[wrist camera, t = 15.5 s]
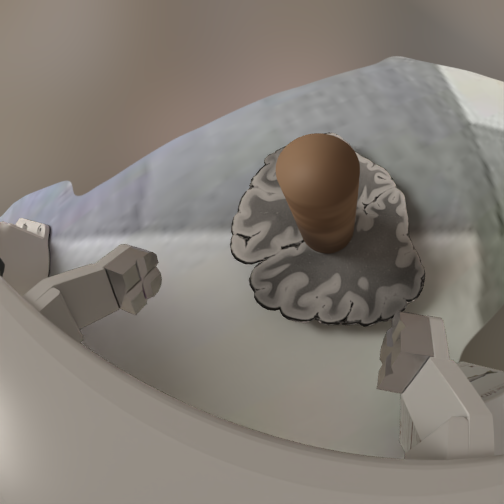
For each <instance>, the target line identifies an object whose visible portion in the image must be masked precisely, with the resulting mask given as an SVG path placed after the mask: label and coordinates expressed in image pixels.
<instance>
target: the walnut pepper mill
mask: <svg viewBox="0 0 504 504" xmlns="http://www.w3.org/2000/svg"><path fill="white" fill-rule="evenodd" d="M276 177H277V181H278V183H279V185H280V187H281V190H282V192H283V194H284V196H285V199H286V201H287V203H288V205H289V208H290V210H291V212H292V214H293V217H294V219H295V221H296V224H297V226H298V228H299V231H300V233H301V235H302V238H303V240H304V242H305V243H306V244H307V245H308V246H309V247H310V248H311V249H313V250H314V251H317V252H320V253H325V254H329V253H335V252H337V251H340V250H341V249H343V248H344V247H346V246H347V245H348V243H349V242H350V240H351V239H352V236H353V232H354V225H355V217H356V208H357V199H358V188H359V177H360V163H359V159H358V157H357V155H356V153H355V151H354V150H353V149H352V147H351V146H350V145H349V144H348V143H346V142H345V141H343V140H342V139H340V138H338V137H335V136H332V135H329V134H319V133H318V134H309V135H305V136H302V137H299V138H297V139H295V140H293V141H292V142H290V143H289V144H288V145H287V146H286V147H285V148H284V149H283V150H282V152H281V153H280V155H279V157H278V160H277V163H276Z"/></svg>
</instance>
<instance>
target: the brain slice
mask: <svg viewBox="0 0 504 504" xmlns="http://www.w3.org/2000/svg"><path fill="white" fill-rule="evenodd" d="M325 134H329V135H332V136H335V137H338V138H340V139H342V138H341V136H339V135H337V134H335V133H325ZM342 140H343V139H342ZM343 141H345V140H343ZM345 142H346V141H345ZM346 143H348V142H346ZM348 144H349V143H348ZM349 145H350V144H349ZM285 147H286V146H285ZM285 147H283V148H281V149H279V150H277V151H276V152H275V153H272V154H270V155H268V156H267V157H266V158H265V160H264V163H265V165H264V166H263V167H262V168H261V169H260V170H259V171H258V172H257V174H256V175H255V176H254V177H253V178H252V179H251V183H250V185H249V186H250V188H249V189H248V190H247V191H246V192H245V193H244V195H243V196H242V198H241V201H240V203H239V207H238V213H237V214H236V215H235V216H234V218H233V221H232V227H231V232H232V238H231V243H230V247H231V253H232V255H233V256H234V258H235V259H236V260H238V261H239V262H242V263H244V264H254V263H257V262H260V261H263V262H261V263H259V264H258V265H257V266H255V267H254V269H253V271H252V273H251V275H250V278H249V282H250V286H251V288H252V290H253V291H254V298H255V300H256V302H257V303H258V304H259V305H261V306H262V307H263V308H265V309H267V310H274V311H275V310H280V312H281V314H282V316H283V317H285V318H286V319H288V320H292V321H295V322H301V323H306V322H310V321H313V320H317V321H319V322H320V323H322V324H326V325H339V324H342V325H354V324H360V325H362V326H364V327H366V326H372V325H374V324H376V323H378V322H380V321H388V320H391V319H393V317H394V315H395V313H396V312H397V310H398V311H403V310H405V308H406V306H407V304H408V303H411V302H413V301H415V300H416V299H417V298H418V297H419V295H420V293H421V291H422V289H423V286H424V281H425V270H424V267H423V265H422V264H421V260H420V257H419V255H418V253H417V252H416V251H415V249H414V247H413V244H412V242H411V239H410V237H409V220H408V214H407V210H406V207H407V205H406V200H405V196H404V194H403V193H402V191H401V190H400V189H397V188H395V187H396V185H397V184H396V183H395V182H394V181H393V179H392V177H391V176H390V175H389V173H388V172H387V170H386V169H384V168H382V167H381V166H379V165H376V164H375V163H373V162H372V161H370V160H369V159H367V158H365V157H362V156H361V155H359V154H358V153H356V152H355V153H356V155H357V157H358V159H359V163H360V177H359V188H358V199H357V208H356V217H355V225H354V232H353V236H352V239H351V240H350V242H349V243H348V245H347V246H346V247H344V248H343V249H341V250H340V251H337V252H335V253H329V254H325V253H320V252H317V251H314V250H313V249H311V248H310V247H309V246H308V245H307V244H306V243H305V242H304V240H303V238H302V235H301V233H300V231H299V228H298V226H297V224H296V221H295V219H294V217H293V214H292V212H291V210H290V208H289V205H288V203H287V201H286V199H285V196H284V194H283V192H282V190H281V187H280V185H279V183H278V181H277V177H276V163H277V160H278V157H279V155H280V153H281V152H282V150H283V149H284V148H285ZM352 149H353V148H352Z"/></svg>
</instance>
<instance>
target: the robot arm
mask: <svg viewBox="0 0 504 504" xmlns="http://www.w3.org/2000/svg"><path fill="white" fill-rule="evenodd" d="M48 238H49V226H48V225H45V224H42V223H38V222H34V221H31V220H27V219H23V218H20V219H19V220H18V221H17V223H16V225H14V224H11V223H6V222H4V221H2V222H0V504H504V454H502V455H495V456H494V428H493V416H492V414H491V412H490V411H489V409H488V408H487V406H486V405H485V403H484V402H483V400H482V399H481V397H480V396H479V394H478V393H477V391H476V390H475V389H474V387H473V386H472V384H471V383H470V381H469V380H468V379H467V377H466V376H465V375H464V373H463V372H462V370H461V369H460V368H459V366H458V365H457V364H456V362H455V361H454V360H450V356H449V350H448V343H447V337H446V332H445V327H444V322H443V319H442V318H439V317H433V316H424V315H419V314H414V313H409V312H403V311H398V310H397V312H396V313H395V315H394V317H393V319H392V328H390V329H389V330H387V332H386V334H385V337H384V339H383V343H382V346H381V351H380V361H381V362H382V366H381V368H380V370H379V372H378V383H377V389H379V390H384V391H390V392H395V393H401V394H402V397H403V400H404V402H405V404H406V406H407V409H408V411H409V413H410V416H411V418H412V420H413V423H414V425H415V428H416V430H417V433H418V435H419V438H420V440H421V442H420V443H419V444H417V445H416V446H414V447H413V448H412V449H410V450H409V451H408V452H406V453H405V456H404V459H395V458H383V457H374V456H366V455H358V454H352V453H345V452H340V451H334V450H329V449H324V448H319V447H314V446H310V445H306V444H302V443H297V442H294V441H290V440H286V439H282V438H279V437H275V436H272V435H269V434H265V433H262V432H259V431H256V430H253V429H250V428H247V427H244V426H241V425H238V424H235V423H233V422H230V421H227V420H225V419H222V418H219V417H217V416H214V415H212V414H209V413H207V412H205V411H202V410H200V409H198V408H195V407H193V406H191V405H188V404H186V403H184V402H182V401H180V400H178V399H176V398H173V397H171V396H169V395H167V394H165V393H163V392H161V391H159V390H157V389H155V388H153V387H152V386H150V385H148V384H146V383H144V382H142V381H140V380H139V379H137V378H135V377H133V376H131V375H130V374H128V373H126V372H125V371H123V370H121V369H119V368H118V367H116V366H115V365H113V364H111V363H110V362H108V361H106V360H105V359H103V358H102V357H100V356H99V355H97V354H96V353H94V352H93V351H91V350H90V349H88V348H87V347H85V346H84V345H82V344H81V342H82V341H83V336H82V334H81V332H80V330H79V329H81V328H83V327H85V326H87V325H89V324H91V323H93V322H95V321H97V320H99V319H101V318H103V317H105V316H107V315H109V314H111V313H113V312H115V311H117V310H119V308H120V309H122V310H125V311H127V312H129V313H132V314H134V315H137V313H138V312H139V311H140V310H141V309H142V308H143V307H144V306H145V305H146V304H147V299H149V298H151V297H154V296H155V295H156V294H157V293H158V291H159V289H160V287H161V282H162V277H161V273H160V271H159V270H158V268H157V267H156V266H157V264H158V259H157V255H156V254H155V253H153V252H151V251H147V250H144V249H141V248H137V247H133V246H130V245H127V244H121V245H119V246H118V247H117V248H115V249H114V250H112V251H111V252H110V253H108V254H107V255H106V256H104V257H103V258H102V259H100V260H99V261H98V262H97V263H95V264H89V265H86V266H82V267H79V268H76V269H73V270H70V271H67V272H64V273H60V274H57V275H54V276H51V277H48V272H49V248H48Z"/></svg>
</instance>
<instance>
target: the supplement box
mask: <svg viewBox="0 0 504 504" xmlns="http://www.w3.org/2000/svg"><path fill="white" fill-rule="evenodd" d="M457 365H458V366H459V368H460V369H461V370H462V372H463V373H464V375H465V376H466V377H467V379H468V380H469V381H470V383H471V384H472V386H473V387H474V389H475V390H476V391H477V393H478V394H479V396H480V397H481V399H482V400H483V402H484V403H485V405H486V406H487V408H488V409H489V411H490V412H491V414H492V416H493V428H494V456H495V455H502V454H504V371H501V370H496V369H492V368H488V367H483V366H479V365H475V364H471V363H467V362H459V363H457ZM399 442H400V444H401V446H402V448H403V449H404V452H405V453H406V452H408V451H409V450H410V449H412V448H413V447H414V446H416V445H417V444H419V443H420V442H421V440H420V438H419V435H418V433H417V430H416V428H415V425H414V423H413V420H412V418H411V416H410V413H409V411H408V409H407V406H406V404H405V402H404V400H403V397H402V394H401V407H400V433H399Z"/></svg>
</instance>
